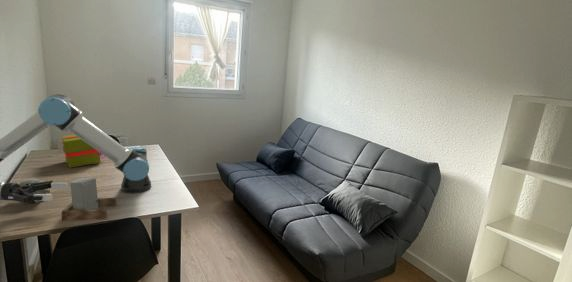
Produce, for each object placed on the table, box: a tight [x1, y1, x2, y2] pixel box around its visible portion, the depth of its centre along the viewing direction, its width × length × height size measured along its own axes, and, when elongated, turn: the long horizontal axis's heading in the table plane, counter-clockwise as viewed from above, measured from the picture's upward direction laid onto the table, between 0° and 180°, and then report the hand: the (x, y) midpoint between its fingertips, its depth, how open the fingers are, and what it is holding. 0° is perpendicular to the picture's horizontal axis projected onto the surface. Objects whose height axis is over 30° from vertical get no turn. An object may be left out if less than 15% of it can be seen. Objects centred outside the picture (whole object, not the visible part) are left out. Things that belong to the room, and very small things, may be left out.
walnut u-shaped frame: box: [61, 197, 118, 221], centre depth 147 cm, size 18×14×4 cm
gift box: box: [61, 134, 104, 169], centre depth 213 cm, size 21×21×25 cm
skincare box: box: [69, 177, 100, 210], centre depth 145 cm, size 8×7×16 cm
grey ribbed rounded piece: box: [18, 178, 51, 204], centre depth 154 cm, size 11×17×11 cm, turn 86°
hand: (60, 191), depth 143 cm, fingers open, 13 cm apart
